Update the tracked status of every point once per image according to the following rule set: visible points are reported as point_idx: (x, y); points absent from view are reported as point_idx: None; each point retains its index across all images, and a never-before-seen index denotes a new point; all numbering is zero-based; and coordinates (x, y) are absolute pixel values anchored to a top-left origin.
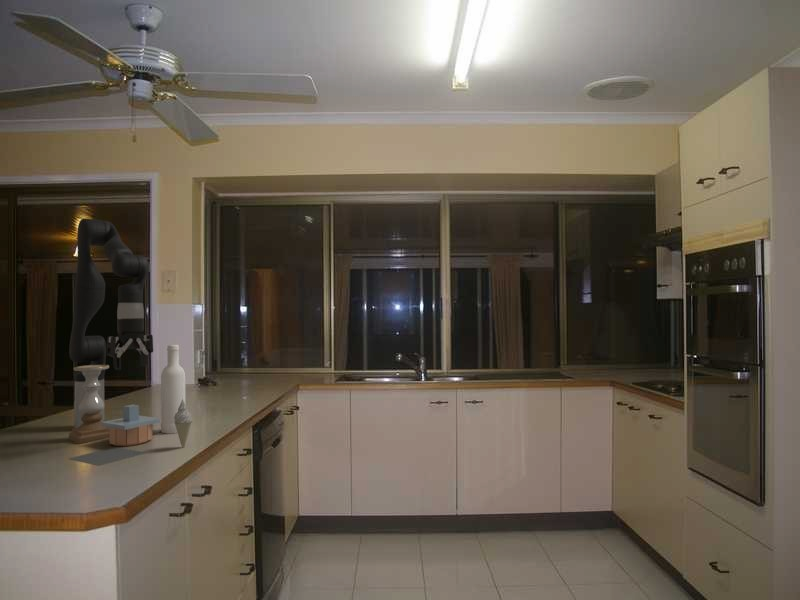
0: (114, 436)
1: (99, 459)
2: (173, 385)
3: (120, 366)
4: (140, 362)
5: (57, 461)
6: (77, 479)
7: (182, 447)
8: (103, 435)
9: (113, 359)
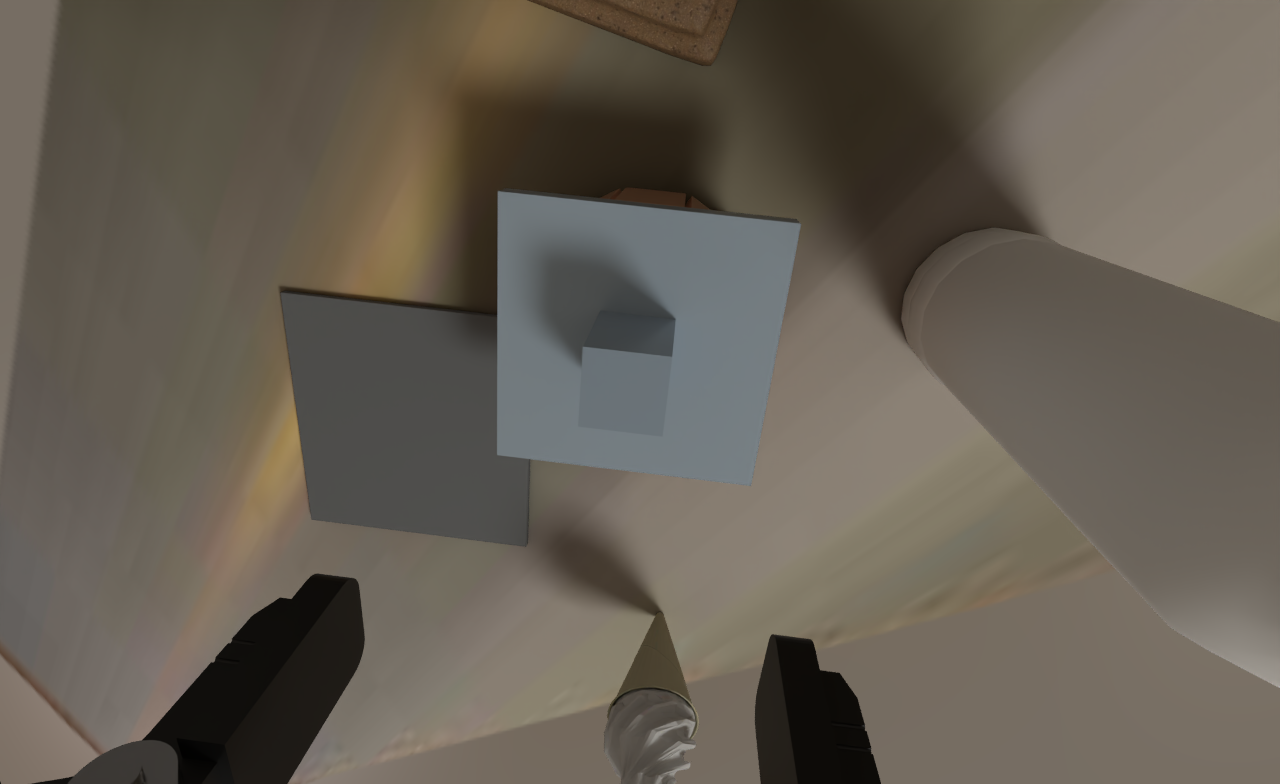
0: None
1: (358, 447)
2: (1093, 543)
3: (329, 694)
4: (778, 693)
5: (245, 263)
6: (204, 564)
7: (654, 619)
8: (635, 37)
9: (160, 724)
